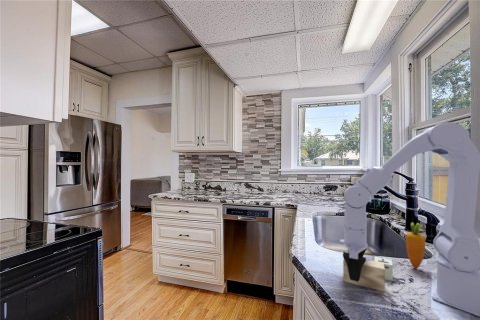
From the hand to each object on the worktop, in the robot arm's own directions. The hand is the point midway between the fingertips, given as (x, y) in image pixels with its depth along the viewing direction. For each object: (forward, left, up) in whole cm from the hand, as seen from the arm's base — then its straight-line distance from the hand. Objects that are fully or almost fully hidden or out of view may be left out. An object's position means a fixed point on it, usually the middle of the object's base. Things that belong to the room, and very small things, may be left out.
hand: (355, 274), depth 64 cm
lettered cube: (-4, -10, -2) cm, 11 cm away
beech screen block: (-2, -1, -2) cm, 3 cm away
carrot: (-9, -23, -2) cm, 25 cm away
